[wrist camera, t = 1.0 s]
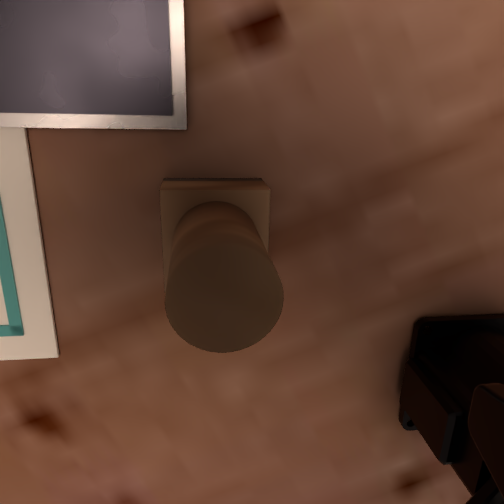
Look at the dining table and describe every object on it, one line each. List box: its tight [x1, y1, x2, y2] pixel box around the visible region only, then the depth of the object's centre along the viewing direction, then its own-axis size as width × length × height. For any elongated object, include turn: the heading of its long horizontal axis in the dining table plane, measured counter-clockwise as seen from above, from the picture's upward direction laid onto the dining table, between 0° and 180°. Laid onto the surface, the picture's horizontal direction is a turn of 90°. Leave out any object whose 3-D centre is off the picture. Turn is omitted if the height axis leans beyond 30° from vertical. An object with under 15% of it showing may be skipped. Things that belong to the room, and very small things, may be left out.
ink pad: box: [0, 0, 187, 130], centre depth 15 cm, size 8×8×1 cm
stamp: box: [159, 178, 284, 353], centre depth 15 cm, size 4×4×7 cm
